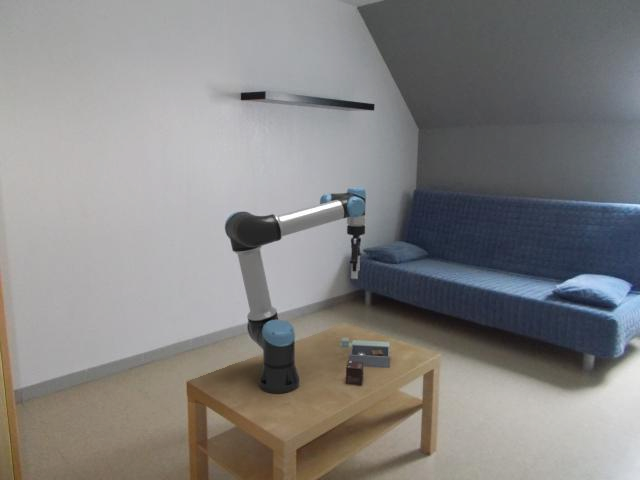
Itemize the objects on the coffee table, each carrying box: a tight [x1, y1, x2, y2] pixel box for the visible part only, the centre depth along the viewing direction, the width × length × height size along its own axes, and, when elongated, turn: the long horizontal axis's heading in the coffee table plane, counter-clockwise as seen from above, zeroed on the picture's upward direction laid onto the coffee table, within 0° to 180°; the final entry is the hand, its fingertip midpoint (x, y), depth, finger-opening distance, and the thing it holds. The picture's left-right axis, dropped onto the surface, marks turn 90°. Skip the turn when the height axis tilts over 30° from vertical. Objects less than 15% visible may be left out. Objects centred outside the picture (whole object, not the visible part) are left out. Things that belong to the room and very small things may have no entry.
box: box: [345, 360, 364, 387], centre depth 187 cm, size 6×6×7 cm
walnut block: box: [371, 350, 383, 356], centre depth 204 cm, size 4×4×4 cm
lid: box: [339, 336, 391, 351], centre depth 220 cm, size 22×12×4 cm, turn 83°
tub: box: [349, 345, 391, 369], centre depth 205 cm, size 16×11×5 cm
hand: (355, 274), depth 209 cm, fingers open, 13 cm apart
